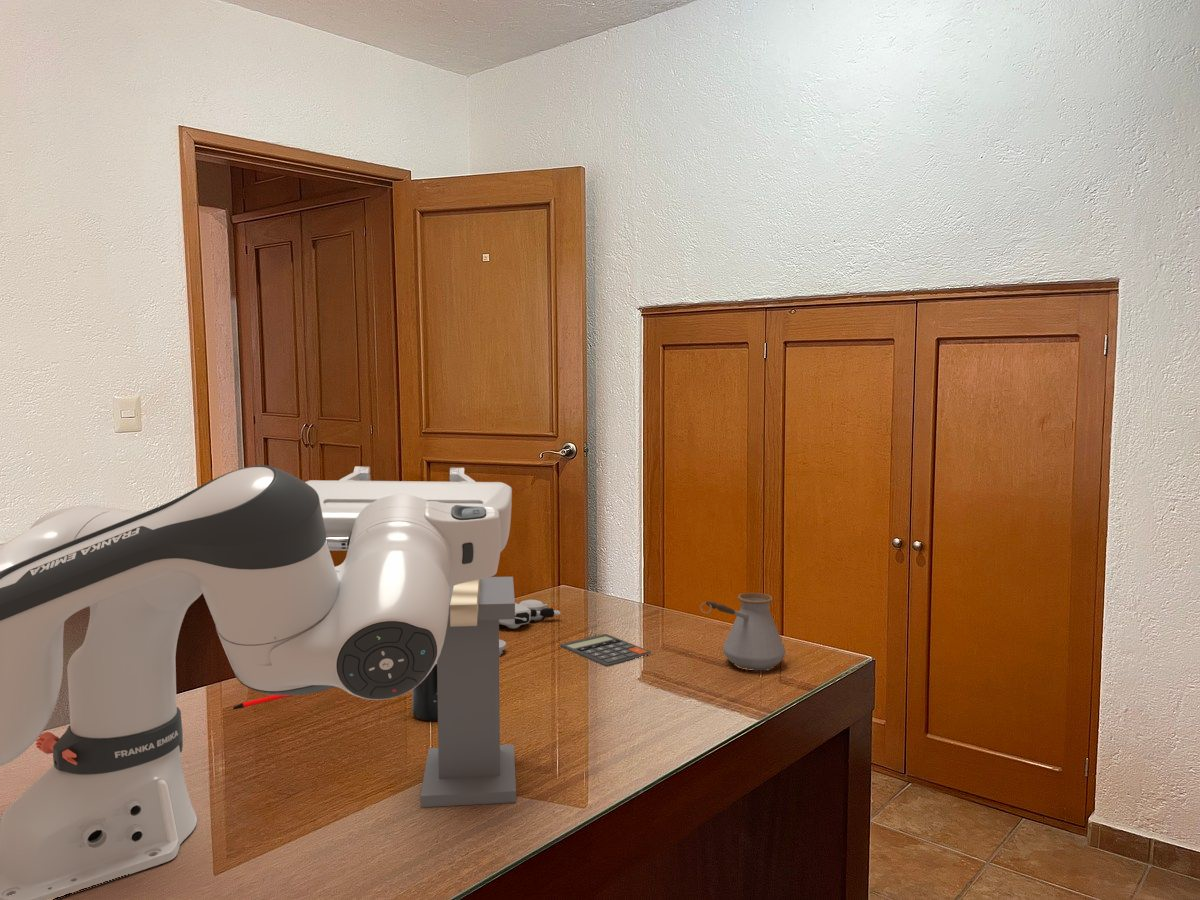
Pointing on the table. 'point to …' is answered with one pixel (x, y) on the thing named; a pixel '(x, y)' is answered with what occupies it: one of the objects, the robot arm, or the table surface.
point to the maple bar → (465, 604)
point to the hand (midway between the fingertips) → (410, 473)
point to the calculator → (605, 649)
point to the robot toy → (528, 613)
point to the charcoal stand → (472, 710)
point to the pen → (259, 701)
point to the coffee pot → (752, 633)
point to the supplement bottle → (426, 698)
